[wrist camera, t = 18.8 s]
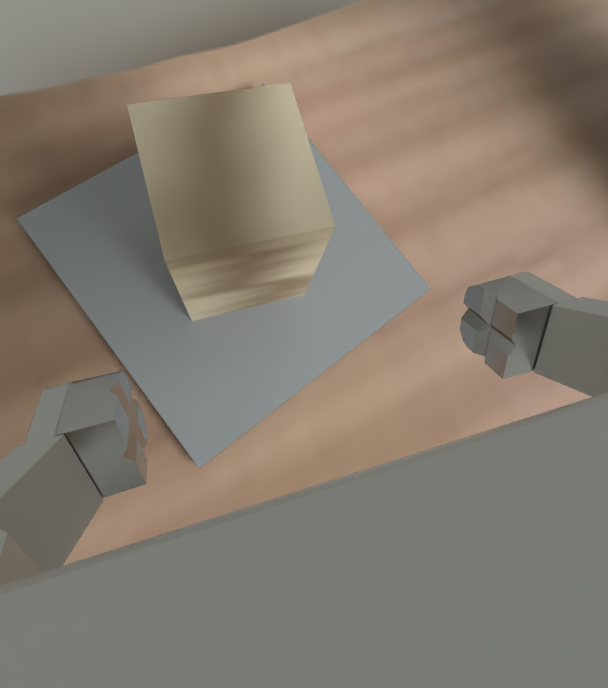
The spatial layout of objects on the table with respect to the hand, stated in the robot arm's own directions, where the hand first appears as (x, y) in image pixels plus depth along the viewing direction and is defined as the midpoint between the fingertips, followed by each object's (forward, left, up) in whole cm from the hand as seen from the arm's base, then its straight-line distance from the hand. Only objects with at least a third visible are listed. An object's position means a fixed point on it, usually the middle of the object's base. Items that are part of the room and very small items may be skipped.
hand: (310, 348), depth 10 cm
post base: (-3, -7, -13) cm, 16 cm away
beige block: (-3, -7, -12) cm, 15 cm away
